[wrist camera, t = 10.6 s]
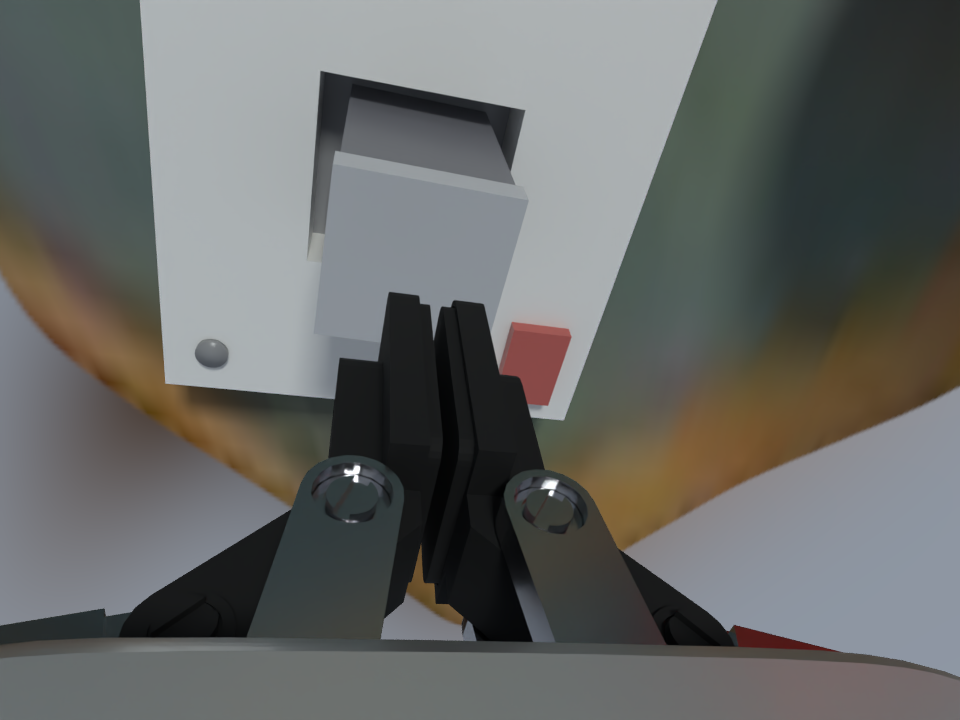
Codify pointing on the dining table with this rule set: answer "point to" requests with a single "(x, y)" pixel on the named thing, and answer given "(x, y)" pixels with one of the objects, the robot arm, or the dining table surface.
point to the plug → (414, 213)
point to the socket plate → (319, 133)
